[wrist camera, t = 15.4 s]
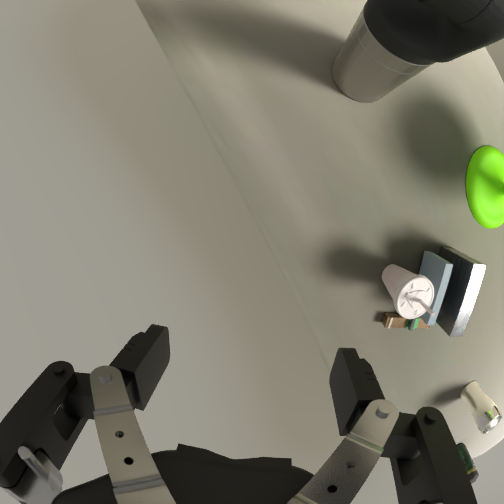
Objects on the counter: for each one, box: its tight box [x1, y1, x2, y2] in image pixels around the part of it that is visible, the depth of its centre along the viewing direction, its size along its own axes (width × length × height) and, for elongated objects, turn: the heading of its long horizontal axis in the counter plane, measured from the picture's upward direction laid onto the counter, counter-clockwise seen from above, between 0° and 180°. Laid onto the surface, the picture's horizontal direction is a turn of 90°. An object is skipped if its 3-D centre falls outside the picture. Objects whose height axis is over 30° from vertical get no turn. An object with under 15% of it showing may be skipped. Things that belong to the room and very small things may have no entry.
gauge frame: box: [382, 246, 486, 337], centre depth 36 cm, size 15×12×10 cm
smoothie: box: [382, 264, 435, 319], centre depth 34 cm, size 6×6×14 cm
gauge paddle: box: [408, 251, 453, 330], centre depth 37 cm, size 14×2×7 cm, turn 175°
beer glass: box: [460, 381, 502, 434], centre depth 40 cm, size 7×7×15 cm
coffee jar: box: [457, 443, 478, 484], centre depth 47 cm, size 10×8×19 cm
